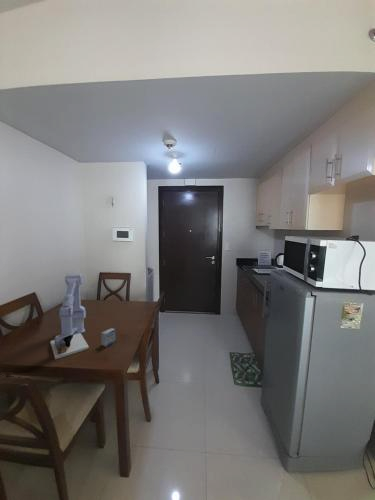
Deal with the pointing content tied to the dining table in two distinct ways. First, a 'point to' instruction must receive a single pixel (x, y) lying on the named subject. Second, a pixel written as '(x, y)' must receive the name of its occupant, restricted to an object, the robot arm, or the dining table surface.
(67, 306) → the robot arm
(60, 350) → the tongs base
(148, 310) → the dining table surface
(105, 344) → the medicine box
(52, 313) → the dining table surface
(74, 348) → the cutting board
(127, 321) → the dining table surface
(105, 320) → the dining table surface
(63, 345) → the tongs arm
